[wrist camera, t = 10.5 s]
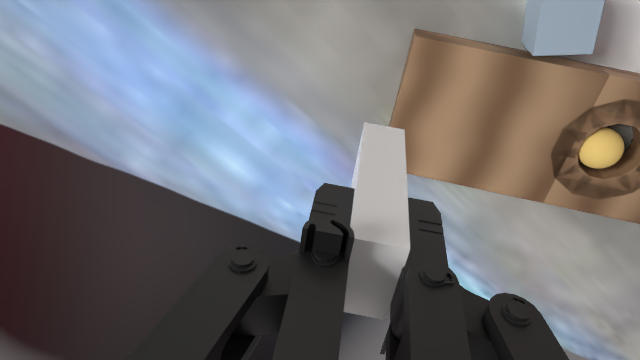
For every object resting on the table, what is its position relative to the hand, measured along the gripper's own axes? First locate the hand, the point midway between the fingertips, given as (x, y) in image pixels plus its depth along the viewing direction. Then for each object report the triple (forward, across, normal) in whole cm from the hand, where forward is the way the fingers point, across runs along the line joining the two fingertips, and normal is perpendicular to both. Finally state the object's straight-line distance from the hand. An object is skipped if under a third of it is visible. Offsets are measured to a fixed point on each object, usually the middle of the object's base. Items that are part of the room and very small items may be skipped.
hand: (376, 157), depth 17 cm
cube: (+23, +13, +2) cm, 27 cm away
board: (+23, +16, -7) cm, 28 cm away
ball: (+21, +20, -7) cm, 30 cm away
